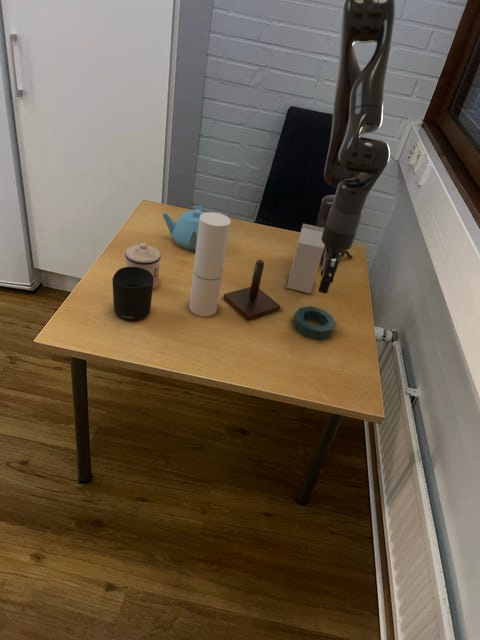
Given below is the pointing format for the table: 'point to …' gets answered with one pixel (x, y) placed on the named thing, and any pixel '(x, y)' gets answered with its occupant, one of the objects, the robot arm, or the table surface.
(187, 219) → the teapot
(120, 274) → the pen holder
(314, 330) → the ring
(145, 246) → the teacup with lid
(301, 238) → the milk carton
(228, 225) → the cylindrical container
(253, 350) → the table surface
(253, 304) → the stand
